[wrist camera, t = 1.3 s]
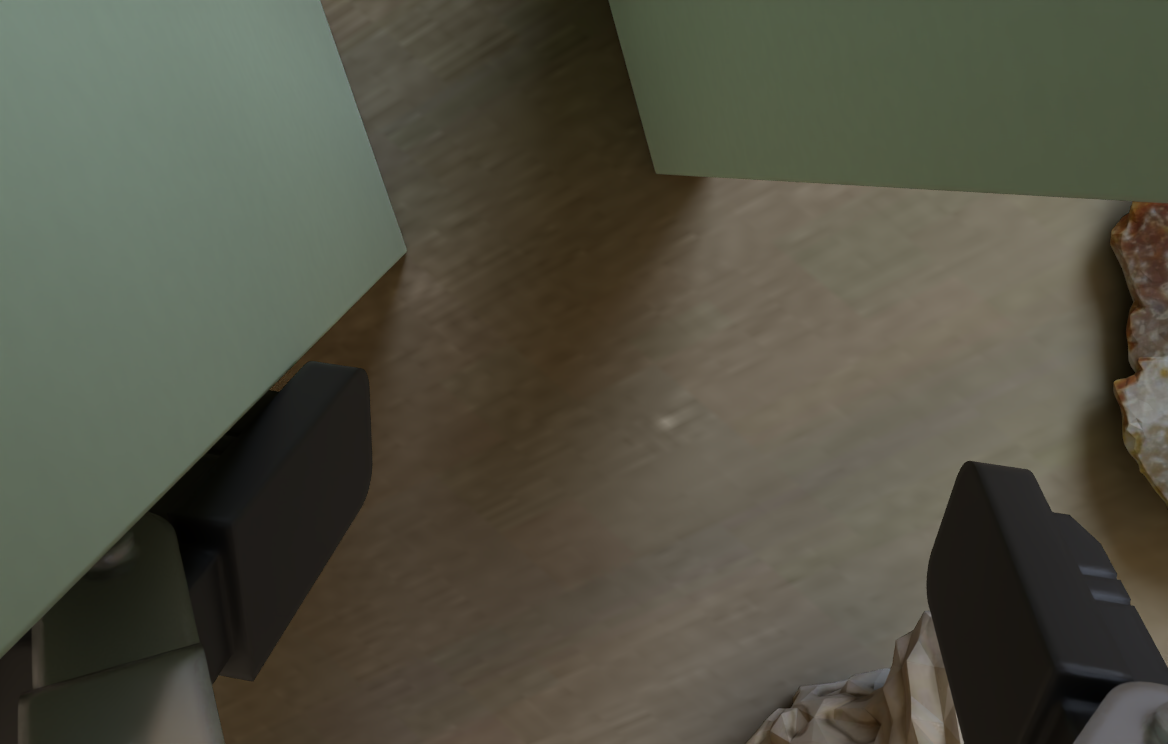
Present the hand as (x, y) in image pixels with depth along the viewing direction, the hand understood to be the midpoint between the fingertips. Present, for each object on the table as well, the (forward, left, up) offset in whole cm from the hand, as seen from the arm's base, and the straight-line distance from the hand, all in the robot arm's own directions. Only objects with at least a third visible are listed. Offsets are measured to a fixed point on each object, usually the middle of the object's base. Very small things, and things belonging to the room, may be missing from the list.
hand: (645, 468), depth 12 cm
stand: (-8, 0, -17) cm, 18 cm away
